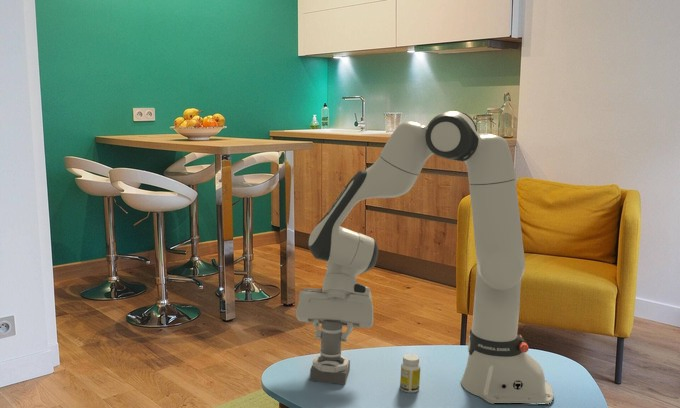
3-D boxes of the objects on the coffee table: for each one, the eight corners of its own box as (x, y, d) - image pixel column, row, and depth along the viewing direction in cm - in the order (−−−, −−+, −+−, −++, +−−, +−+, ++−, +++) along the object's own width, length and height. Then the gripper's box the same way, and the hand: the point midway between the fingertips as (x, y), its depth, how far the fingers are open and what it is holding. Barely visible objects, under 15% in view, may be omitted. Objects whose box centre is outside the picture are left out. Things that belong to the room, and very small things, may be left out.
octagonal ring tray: (349, 370, 166) (350, 355, 165) (344, 385, 157) (345, 369, 157) (316, 366, 167) (316, 351, 167) (309, 381, 159) (310, 365, 158)
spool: (342, 353, 164) (344, 320, 162) (339, 361, 158) (340, 328, 157) (322, 351, 164) (323, 318, 163) (318, 359, 159) (319, 325, 158)
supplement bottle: (418, 385, 159) (420, 353, 158) (419, 393, 154) (421, 361, 153) (399, 383, 159) (401, 352, 158) (399, 392, 155) (401, 360, 153)
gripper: (299, 281, 167) (289, 330, 159) (375, 288, 164) (369, 338, 156) (302, 292, 172) (292, 340, 164) (376, 299, 169) (370, 348, 161)
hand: (330, 339), depth 160 cm, fingers closed on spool, 5 cm apart
